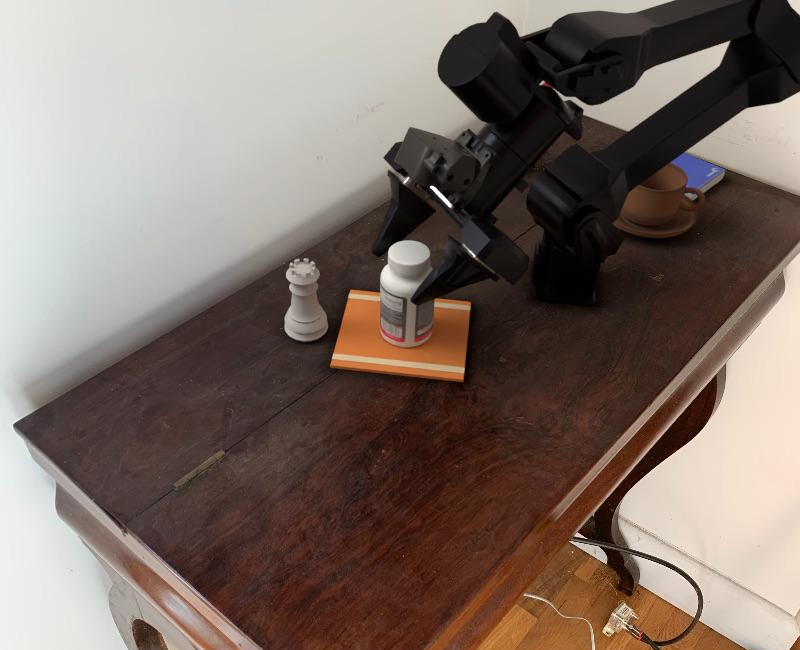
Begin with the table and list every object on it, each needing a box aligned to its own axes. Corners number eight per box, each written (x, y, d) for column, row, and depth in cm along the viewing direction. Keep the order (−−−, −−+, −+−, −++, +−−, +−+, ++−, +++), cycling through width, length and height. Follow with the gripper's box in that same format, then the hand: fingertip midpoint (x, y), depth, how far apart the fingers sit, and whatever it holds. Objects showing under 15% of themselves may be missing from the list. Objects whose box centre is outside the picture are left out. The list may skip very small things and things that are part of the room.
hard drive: (726, 168, 105) (644, 134, 111) (694, 191, 100) (611, 154, 106) (722, 179, 106) (641, 145, 112) (691, 202, 102) (608, 165, 107)
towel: (470, 304, 86) (471, 301, 86) (463, 382, 78) (463, 378, 77) (350, 292, 87) (350, 288, 86) (330, 368, 78) (330, 364, 78)
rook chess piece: (336, 323, 83) (334, 260, 77) (315, 349, 80) (311, 285, 74) (298, 311, 84) (293, 247, 78) (276, 336, 81) (269, 272, 76)
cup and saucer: (678, 193, 103) (692, 149, 98) (705, 248, 95) (721, 202, 90) (585, 192, 102) (595, 147, 98) (604, 247, 94) (616, 201, 90)
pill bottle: (425, 311, 84) (430, 232, 77) (438, 345, 80) (445, 266, 74) (374, 318, 83) (375, 238, 76) (385, 352, 80) (387, 272, 73)
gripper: (405, 53, 72) (297, 189, 76) (518, 149, 60) (383, 303, 64) (472, 121, 80) (371, 240, 84) (583, 216, 68) (460, 349, 73)
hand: (393, 278), depth 76 cm, fingers open, 8 cm apart
